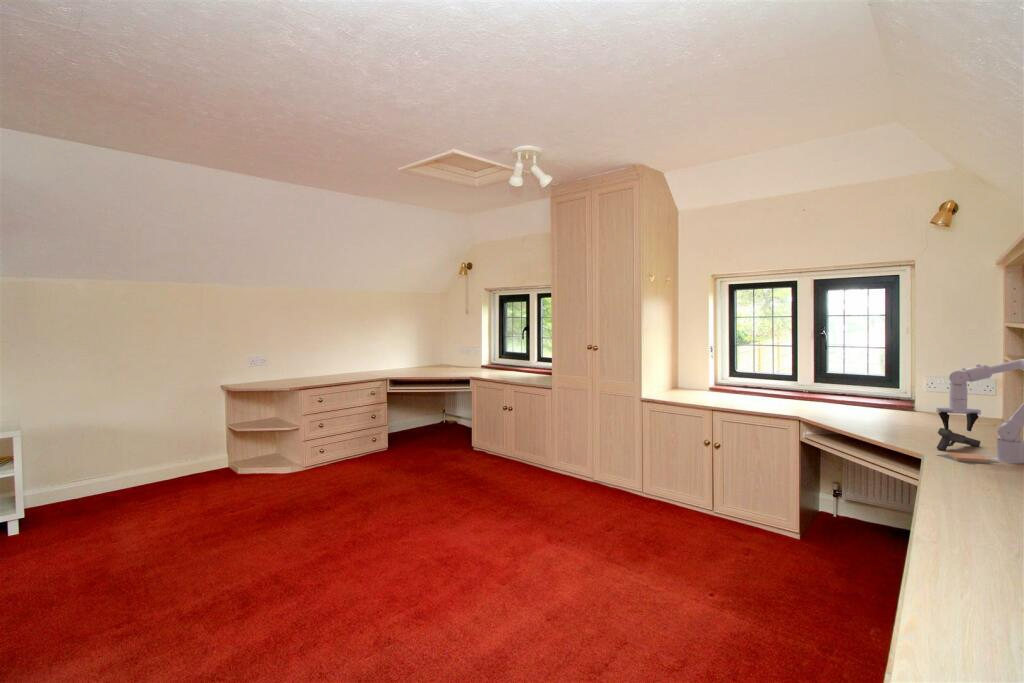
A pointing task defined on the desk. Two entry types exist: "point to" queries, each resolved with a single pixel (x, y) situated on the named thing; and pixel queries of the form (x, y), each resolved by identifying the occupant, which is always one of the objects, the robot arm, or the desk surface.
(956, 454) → the tile
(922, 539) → the desk surface
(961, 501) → the desk surface
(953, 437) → the handgun
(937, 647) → the desk surface
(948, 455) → the mat
